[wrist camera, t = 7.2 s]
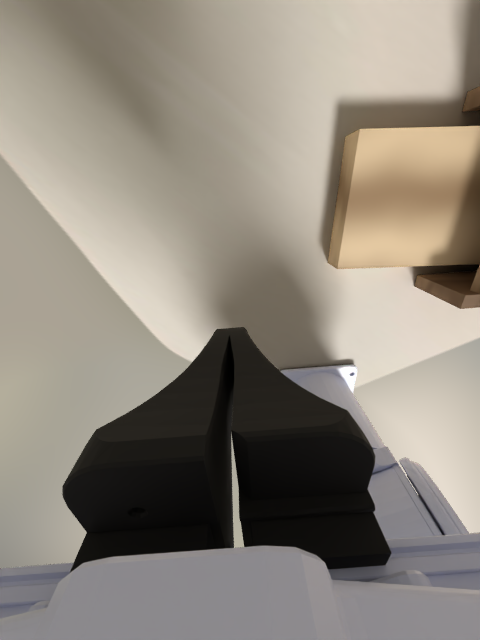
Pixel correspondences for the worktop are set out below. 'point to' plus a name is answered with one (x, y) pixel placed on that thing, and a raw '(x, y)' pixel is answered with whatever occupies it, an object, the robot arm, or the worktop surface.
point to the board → (408, 198)
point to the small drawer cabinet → (456, 286)
